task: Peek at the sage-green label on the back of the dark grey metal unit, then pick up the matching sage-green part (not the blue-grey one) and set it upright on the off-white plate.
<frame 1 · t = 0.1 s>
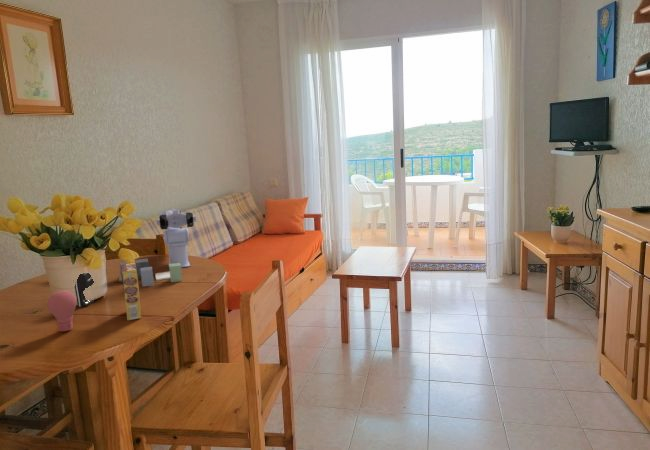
hand: (178, 222, 174), 22 cm above the table, tool horizontal, fingers open, 7 cm apart
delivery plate: (166, 276, 182), on the table
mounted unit: (136, 277, 181), on the table
candy box: (134, 315, 144), on the table
sage part: (176, 280, 177), on the table
blue-grey part: (148, 284, 173), on the table
black curved piece: (88, 304, 155), on the table
light bulb: (66, 331, 134), on the table
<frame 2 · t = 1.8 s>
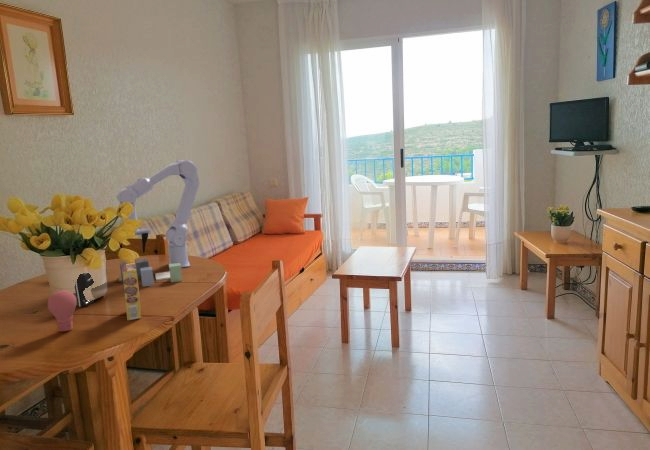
hand: (133, 253, 185), 8 cm above the table, tool pointing down, fingers open, 7 cm apart
nothing on the table moved.
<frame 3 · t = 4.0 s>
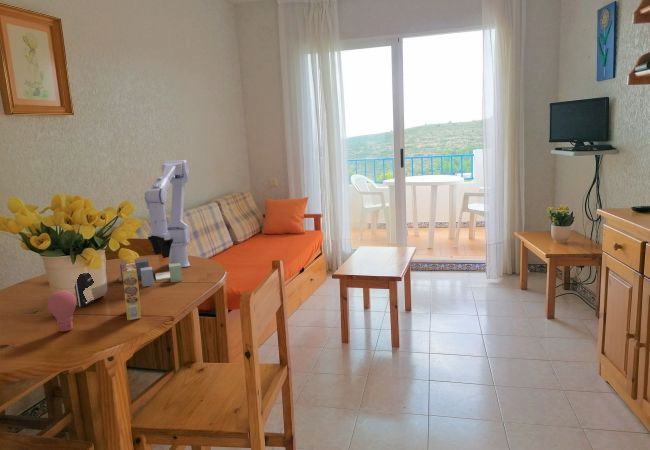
hand: (162, 255, 177), 9 cm above the table, tool pointing down, fingers open, 7 cm apart
nothing on the table moved.
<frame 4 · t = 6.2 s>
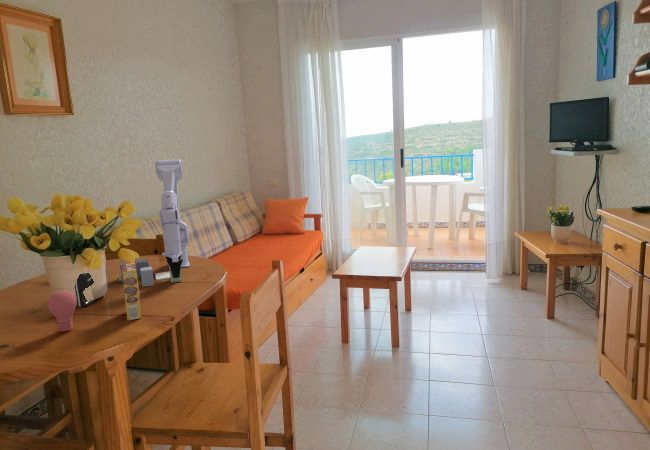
hand: (175, 275, 176), 2 cm above the table, tool pointing down, fingers closed on sage part, 4 cm apart
sage part: (176, 280, 177), on the table, touching gripper
everything else where it was.
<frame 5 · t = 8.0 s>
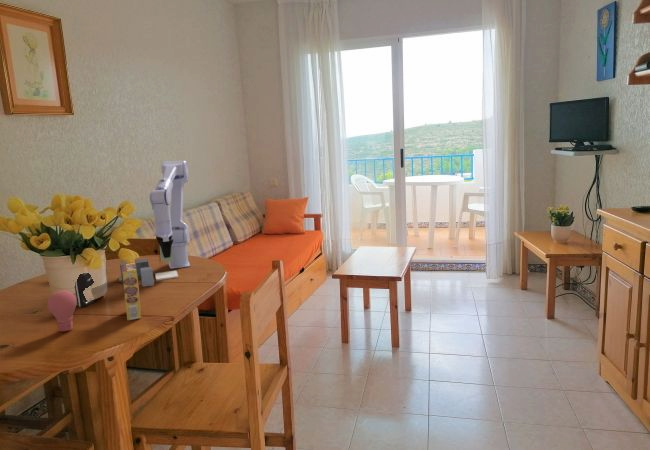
hand: (166, 256, 179), 8 cm above the table, tool pointing down, fingers closed on sage part, 4 cm apart
sage part: (167, 260, 179), point 7 cm above the table, touching gripper
everything else where it was.
when the fingers open (3 cm above the table, at t = 9.9 s): sage part drops 1 cm, resting on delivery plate.
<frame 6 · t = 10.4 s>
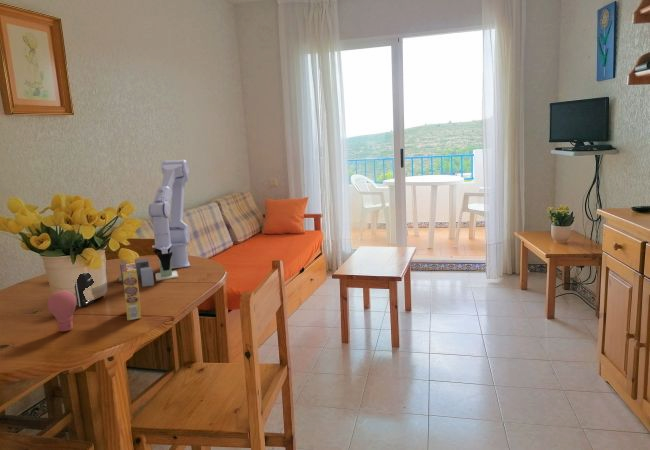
hand: (165, 267, 181), 3 cm above the table, tool pointing down, fingers open, 7 cm apart
sage part: (166, 274, 182), point 1 cm above the table, touching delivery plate
everything else where it was.
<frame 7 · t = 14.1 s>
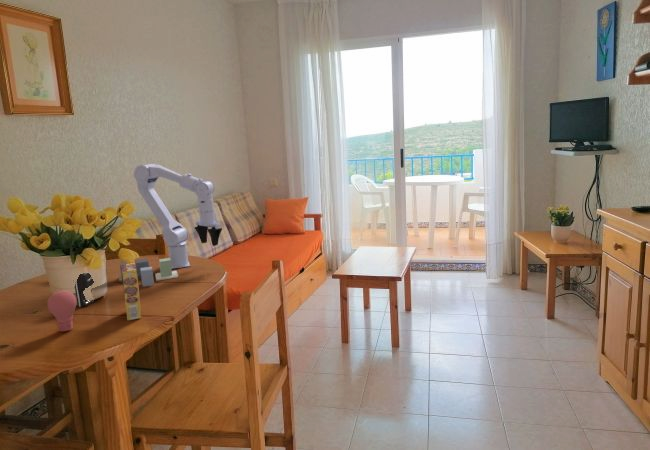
hand: (209, 244, 191), 9 cm above the table, tool pointing down, fingers open, 7 cm apart
nothing on the table moved.
at the end: sage part 0.0 cm off-centre on the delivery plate, point 0.6 cm above the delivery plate's base; sage part tilted 0°; blue-grey part moved 0.1 cm from its start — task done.
